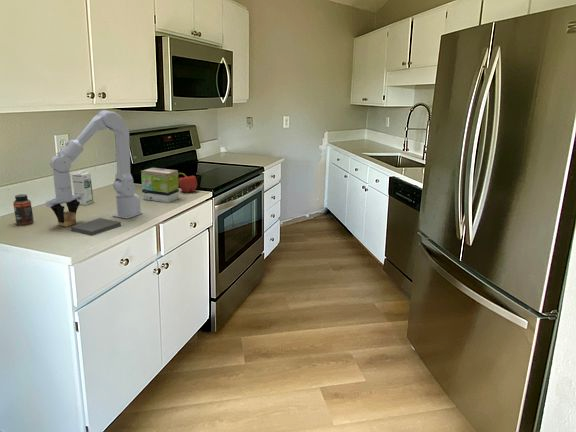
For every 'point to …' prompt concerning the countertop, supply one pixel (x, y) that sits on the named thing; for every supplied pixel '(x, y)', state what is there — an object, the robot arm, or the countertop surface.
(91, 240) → the countertop surface
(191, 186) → the vegetable
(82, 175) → the syrup box
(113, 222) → the charcoal mat
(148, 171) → the tea box
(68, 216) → the oak cube
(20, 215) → the supplement bottle
